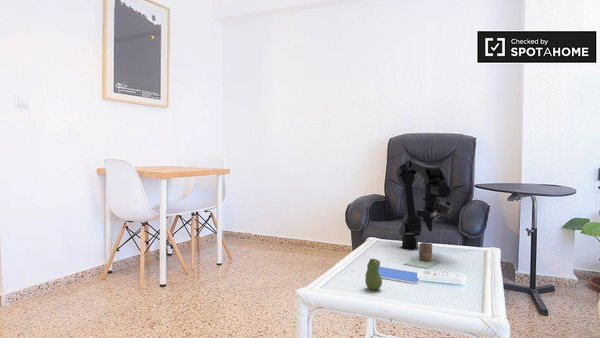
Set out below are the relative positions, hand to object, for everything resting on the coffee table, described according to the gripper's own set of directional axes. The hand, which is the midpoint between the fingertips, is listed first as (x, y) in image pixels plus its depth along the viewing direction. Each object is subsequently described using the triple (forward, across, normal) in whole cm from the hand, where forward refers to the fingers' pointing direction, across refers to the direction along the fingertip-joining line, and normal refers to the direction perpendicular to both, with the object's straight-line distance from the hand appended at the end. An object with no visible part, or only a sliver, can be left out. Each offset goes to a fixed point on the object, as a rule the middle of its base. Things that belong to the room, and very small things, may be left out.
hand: (430, 231), depth 171 cm
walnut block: (+11, -6, 0) cm, 13 cm away
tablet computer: (+12, -33, 0) cm, 35 cm away
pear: (+12, -52, -1) cm, 53 cm away
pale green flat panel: (+12, -10, 0) cm, 16 cm away
